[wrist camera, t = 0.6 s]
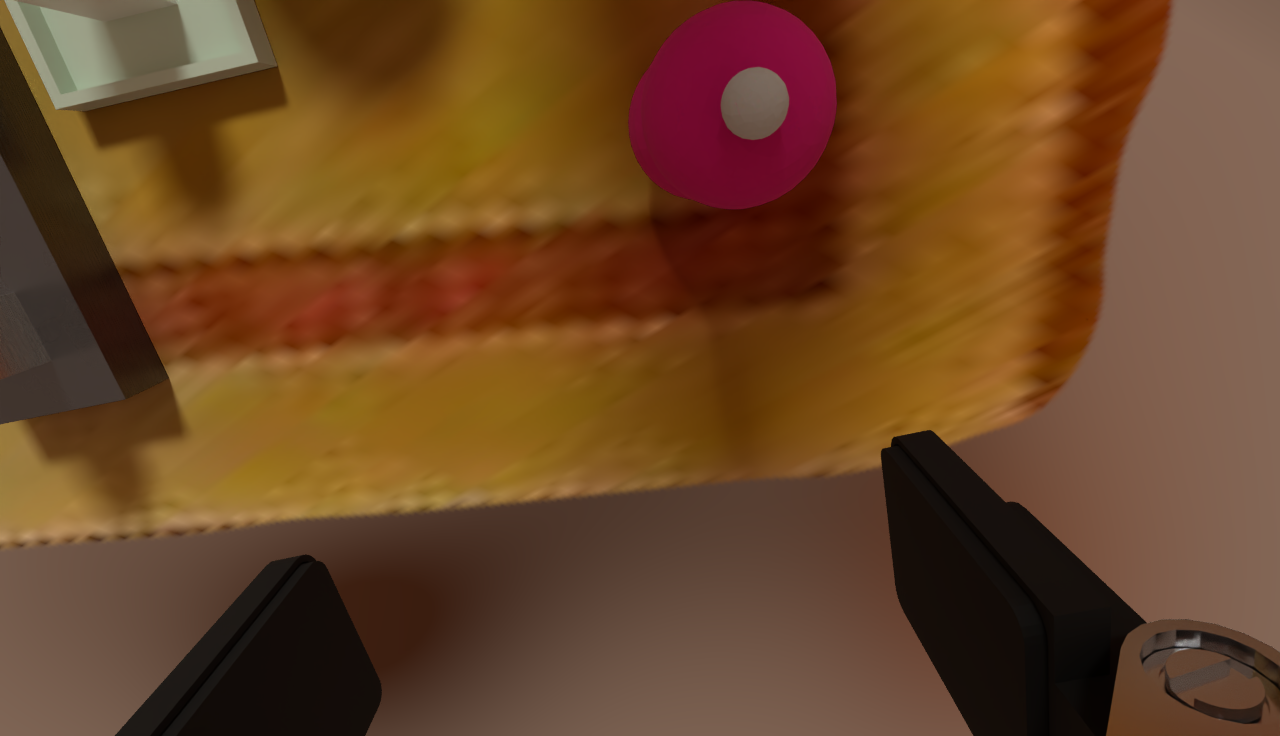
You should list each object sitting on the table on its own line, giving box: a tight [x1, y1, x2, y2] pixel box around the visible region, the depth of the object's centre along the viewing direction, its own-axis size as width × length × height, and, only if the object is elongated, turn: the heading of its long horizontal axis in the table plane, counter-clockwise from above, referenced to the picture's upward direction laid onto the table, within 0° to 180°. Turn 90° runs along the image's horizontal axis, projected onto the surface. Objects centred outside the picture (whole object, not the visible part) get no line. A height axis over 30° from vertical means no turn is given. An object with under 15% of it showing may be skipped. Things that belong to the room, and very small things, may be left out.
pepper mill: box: [628, 0, 837, 209], centre depth 25 cm, size 7×7×20 cm
